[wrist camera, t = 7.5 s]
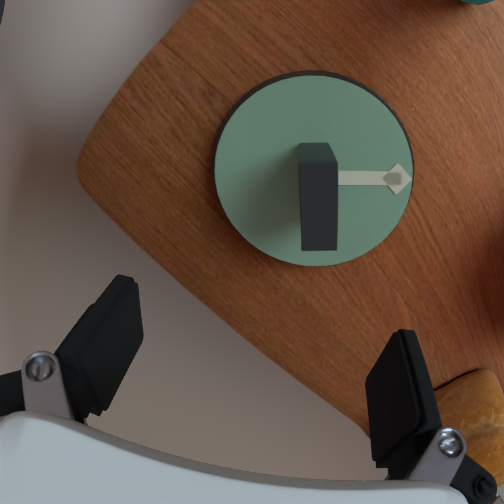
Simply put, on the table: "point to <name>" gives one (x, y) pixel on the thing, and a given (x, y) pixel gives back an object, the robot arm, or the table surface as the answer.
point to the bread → (477, 417)
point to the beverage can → (476, 1)
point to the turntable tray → (277, 166)
